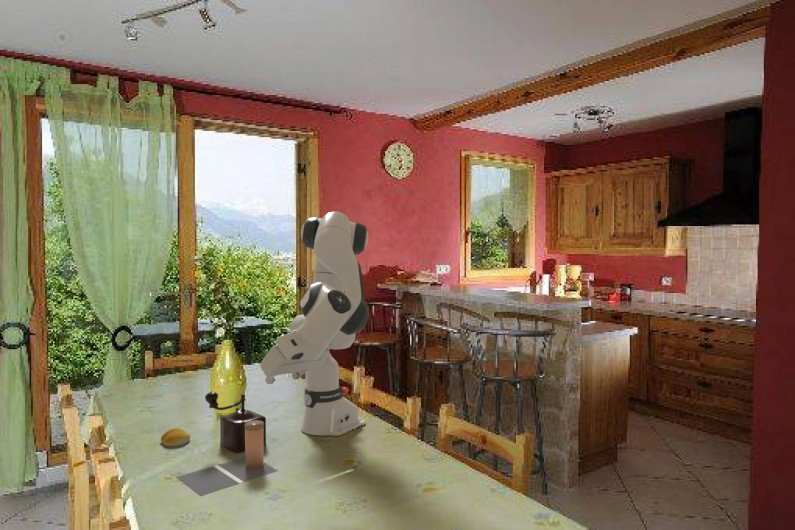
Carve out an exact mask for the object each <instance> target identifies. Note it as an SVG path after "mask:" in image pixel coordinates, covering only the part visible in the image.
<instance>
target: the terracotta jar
mask: <svg viewBox="0 0 795 530" xmlns="http://www.w3.org/2000/svg"><path fill="white" fill-rule="evenodd" d="M264 446H265V445H264V422H263V421H258V420H255V421H249V422H246V423H245V451H244V453H245V454H244V457H245V467H246V468H247V469H258V468H261V467H263V465H264V463H265V462H264V460H265V459H264V457H265V456H264V451H265V450H264V449H265V448H264Z"/></svg>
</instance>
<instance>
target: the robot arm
mask: <svg viewBox="0 0 795 530" xmlns="http://www.w3.org/2000/svg"><path fill="white" fill-rule="evenodd" d="M300 237H301V241H302V244H303V246H304V247H306V248H308V249H310V250H313V251H314V255H315V257H316V261H315V264H314V270H313V277H312V283H311V284H310V285H309V286H308V288H307V289H306V290H305V292H304V293H303V295H302V297H301V298H300V305H299V306H300V308H301V309H300V310H301V312H302V314H298V315H296V316H295V317H294V318H293V319H292V321H291V322H290V327H289V332H288V333H286V334H283V335H280V336H278V337H277V338H276V340H275V345H273V346H272V347H271V348H270V349H269V350H268V352H267V353H266V355H265V356H264V357H263V359H262V361H261V362H260V369H261V371H262V373H263V374H264V375H265V376H266V378H264V381H265V383H266V384H267V385H271V384H274V382H275V381H276V378H275V377H277V376H279V375H287V374H291V378H292V379H293V380H294V381H295V380H299V379H300V378H301V377H302V376H303V375H305V388H304V405H305V406H304V415H303V420H302V424H301V427H300V431H301V432H302V433H305V434H307V435H310V436H311V435H312V436H334V437H336V436H337V437H338V436H342V435H344V434H346V433H348V431H349V432H351V431H352V429H353V430H355V429H358V428H360V427H362V426H364V424H365V425H366V420H365V419H364V418H362V417H360V416H359V410H358V408H357V406H356V404H354V403H352V402H351V401H350V400H349V399H347V398H346V397H344V394H348V392H349V388H348V387H345V386H340V383H339V380H340V379H339V377H340V376H339V374H340V373H339V370H340V369H339V364H338V362H337V360H336V359H334V358H333V356H332V354H331V353H330V350H344V349H348V348H350V347H351V346H352V345H353V343H354V342H355V339H356V335H357V334H358V333H360V332H361V331H363V330H364V329H365V327H366V325H367V323H368V321H369V315H370V313H369V307H368V303H367V300H366V297H365V289H364V287H365V286H364V279H363V272H362V267H361V264H360V261H358V259H357V256H358V255H360V254H361V253H363V252H364V251H365V248H366V247H367V245H368V244H369V243H368V242H369V231H368V230H367V227H366V225H365V224H363V223H360V222H357V221H356V222H353V221H350V219H349V217H348V216H347V215H346V214H344V212H340V211H329V212H327V213H326V214H324V215H323V217H316V216H313V217H309V218H307V219H306V220H305V221H304V223H303V224H302V226H301V229H300ZM343 393H344V394H343ZM361 425H362V426H361ZM359 426H360V427H359ZM357 427H358V428H357Z"/></svg>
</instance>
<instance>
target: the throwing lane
mask: <svg viewBox="0 0 795 530" xmlns="http://www.w3.org/2000/svg"><path fill="white" fill-rule="evenodd" d="M276 472H279V471H278V469H276V468H274V467H273V466H271V465H269V464H267V463H266V462H264V465H263V467H261V468H258V469H247V468H246V467H245V456H243V457H239V458H236V459H232V460H230V461H227V462H223V463H219V464H216V465H213V466H210V467H206V468H203V469H199V470H196V471H193V472H189V473H185V474H182V475H179V476H176V477H175V478H176V479H178V480H179V481H180V482H182V484H184V485H186V486H187V487H188V488H189V489H191V490H192V491H193V492H195V494H197V495H198V496H200V497H202V496H203V497H204V496H206V495H209V494H211V493H215V492H217V491H220V490H223V489H227V488H230V487H233V486H235V485H239V484H242V483H246V482H248V481H251V480H254V479H255V480H256V479H257V478H260V477H263V476H266V475H270V474H273V473H276Z"/></svg>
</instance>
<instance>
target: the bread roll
mask: <svg viewBox="0 0 795 530" xmlns="http://www.w3.org/2000/svg"><path fill="white" fill-rule="evenodd" d="M190 439H191V434H189V433H188V432H186V431H185V430H184V429H182V428H179V427H178V428H177V427H175V428H171V429H168V430H166V431H165V432H164V433H163V434H161V437H160V442H162V444H163V445H164V446H165V447H169V446H171V447H181V446H184V445H185V444H187V443H189V442H190Z"/></svg>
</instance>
